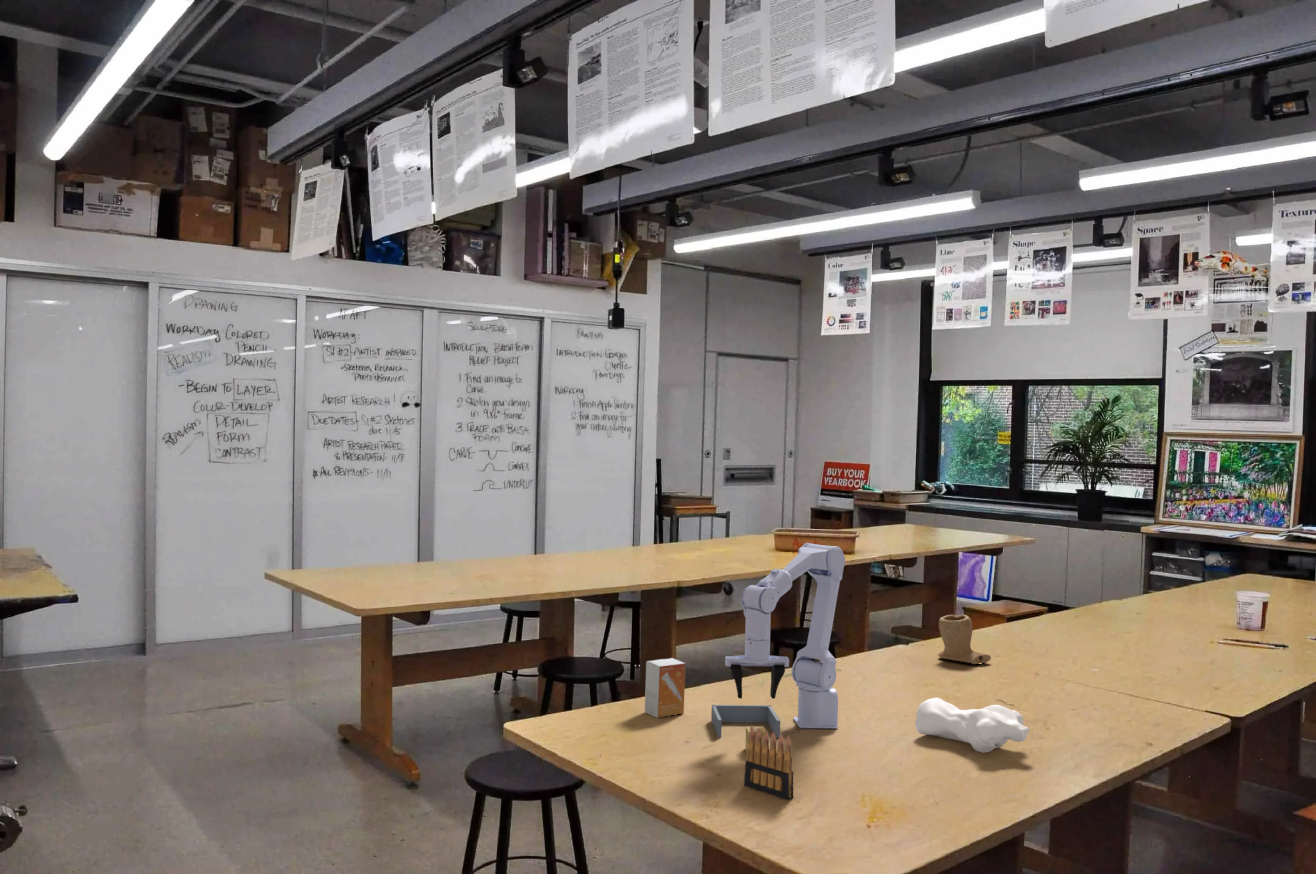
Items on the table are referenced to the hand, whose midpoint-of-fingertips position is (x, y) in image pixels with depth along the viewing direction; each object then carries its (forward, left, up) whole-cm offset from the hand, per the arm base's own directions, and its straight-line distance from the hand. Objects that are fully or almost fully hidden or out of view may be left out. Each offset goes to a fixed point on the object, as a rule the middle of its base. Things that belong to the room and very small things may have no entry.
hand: (756, 697), depth 220 cm
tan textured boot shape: (-81, -83, -11) cm, 116 cm away
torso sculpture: (-51, +1, -11) cm, 52 cm away
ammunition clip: (+2, +31, -11) cm, 33 cm away
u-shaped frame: (+1, -9, -10) cm, 14 cm away
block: (+1, +6, -10) cm, 12 cm away
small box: (+19, -22, -11) cm, 31 cm away
